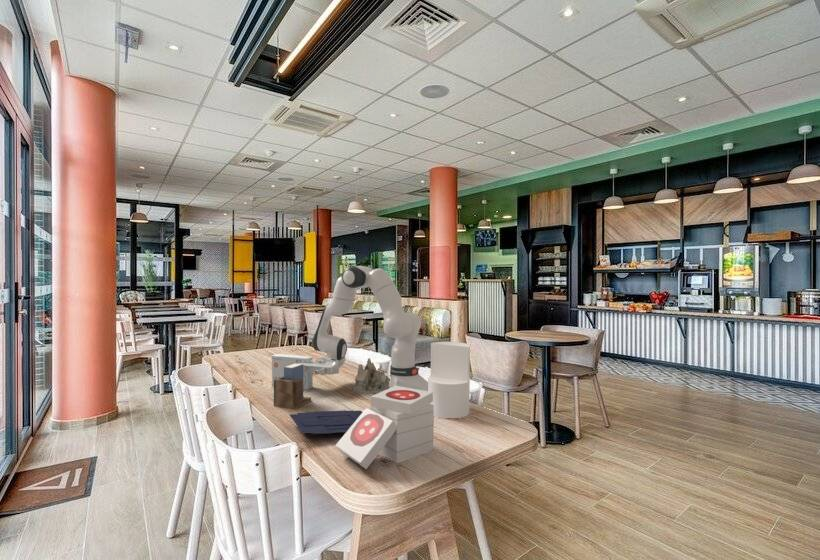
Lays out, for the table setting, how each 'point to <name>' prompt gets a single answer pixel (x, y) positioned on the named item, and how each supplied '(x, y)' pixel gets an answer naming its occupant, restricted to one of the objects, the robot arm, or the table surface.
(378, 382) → the grey rock
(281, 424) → the table surface
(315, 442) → the table surface
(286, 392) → the shelf
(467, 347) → the cylinder
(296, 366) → the tall blue pillar
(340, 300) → the robot arm
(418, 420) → the pizza boxes
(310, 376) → the skincare box
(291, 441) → the table surface
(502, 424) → the table surface
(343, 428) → the navy flat slab
